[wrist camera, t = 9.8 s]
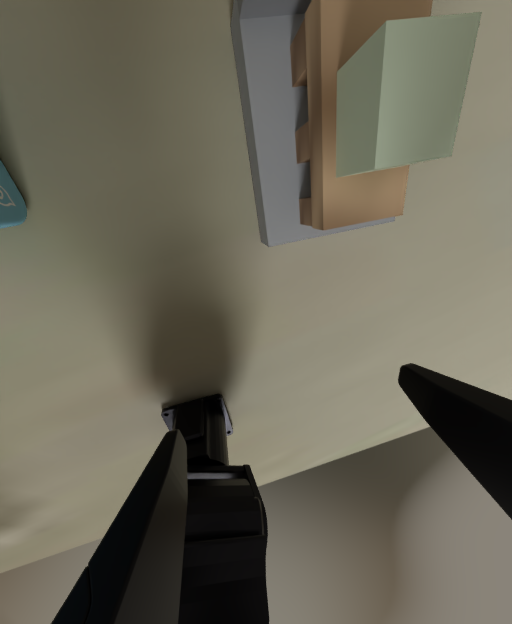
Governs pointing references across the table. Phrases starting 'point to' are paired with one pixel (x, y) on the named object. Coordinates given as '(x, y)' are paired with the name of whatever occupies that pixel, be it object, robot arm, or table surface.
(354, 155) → the pale green block
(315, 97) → the brown cardboard box
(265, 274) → the table surface
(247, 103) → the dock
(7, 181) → the data package
